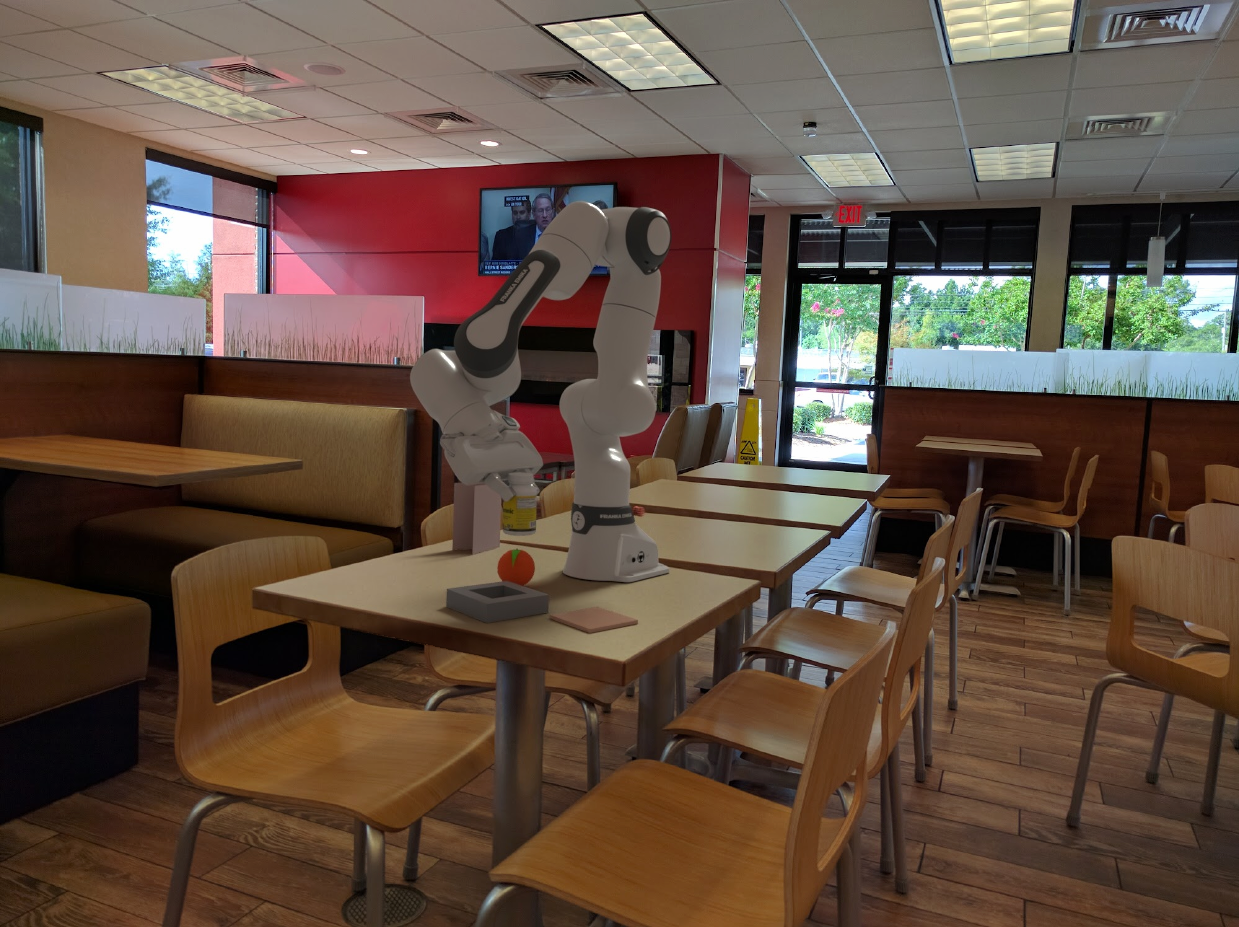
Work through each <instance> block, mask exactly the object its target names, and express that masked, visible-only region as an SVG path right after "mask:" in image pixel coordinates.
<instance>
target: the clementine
mask: <svg viewBox="0 0 1239 927" xmlns="http://www.w3.org/2000/svg"><path fill="white" fill-rule="evenodd" d="M496 568H497V574H498V577H499V579H500V581H501V582H502V581H509V582H512V583H515V584H518V585H521V586H525V585H527V584H528V583H530V581H531V580H532V579H533V577H534V575H535V571H536V564H535V561H534V559H533V557H532V555H531V554H529V552H527V551H526V550H523V549H518V548H516V549H509V550H508V551H506V552H505V553H503V554H502V555H501V556H500V558H499V560H498V562H497V567H496Z"/></svg>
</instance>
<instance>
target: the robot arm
mask: <svg viewBox="0 0 1239 927" xmlns="http://www.w3.org/2000/svg"><path fill="white" fill-rule="evenodd" d="M671 244H672V230H671V225H670V223H669V221H668V218H667V217H666V215H665V214H664V213H663V212H662V211H660V210H658V209H655V208H650V207H647V206H641V207H631V206H630V207H629V206H615V207H612V208H603V209H600V208H599V207H598V206H597V205H595V204H593V203H591V202H588V201H585V200H577V201H572V202H570V203H569V204H567V205H566V206H565V207H564V208H562V209H561V211H560V212H558V214H557V215H556V216H555V217H554V218H553V219H552V220H551V221H550V223H549V224H548V225H547V226H546V227H545V229H544V230H543V232H542V233H541V234H540V236H539V238H538V239H537V241H536V242H535V243H534V245H533V247H532V249H531V250H530V251H529V253H528V254H527V255H526V256H525V257H524V258H523V259H522V260H521V262H520V263H519V264H518V265H517V266H516V267H515V268H514V270H513V271H512V272H511V273H510V275H509V276H508V278H507V279H506V280H505V281H504V283H503V284H502V285H501V286H500V288H499V289H498V290H497V291H496V293H495V294H494V296H493V297H492V298H491V299H490V300H489V301H488V302H487V304H486V305H484V306H483V307H481V308H479V310H478V311H476V312H475V313H473V314H472V315H470V316H469V317H467V318H466V319H464V320H463V322H462V323H461V324H460V325H459V326H458V328H457V329H456V331H455V335H454V338H453V346H454V347H453V349H454V350H445V349H444V350H443V349H439V348H432V349H430V350H427V351H425V352H424V353H423V354H422V355H421V356H420V357H419V358H418V359H416V361H415V362H414V364H413V366H412V368H411V371H410V374H409V375H410V376H409V380H410V385H411V388H412V391H413V392H414V394H415V396H416V397H417V399H418V400H419V402H420V404H421V405H422V406H423V408H424V409H425V411H426V412H427V413H428V415H429V417H431V418H432V419H433V420H435V421H436V422H437V423H438V425H439V427H440V430H441V432H442V435H441V437H440V441H439V444H440V447H441V448H442V449H443V453H444V457H445V459H446V461H447V463H448V465H449V466H450V469H451V470H452V472H453V473H454V475H455V476H456V477H457V480H459V482H460V483H464V484H465V485H474V484H481V483H486V484H487V486H488V487H489V488H490V489H492V490H493V491H495V492H496V493H498V494H499V495H500V496H501V500H502V501H503V500H504V501H505V502H506V501H511V500H513V498H515V497H516V492H515V491H514V489H513V488H512V487H511V486H509V485H507V484H506V483H505V482H504V481H508V474H509V473H514V472H523V473H531V474H533V481H532V482H533V483H531V486H532V487H534V488H535V489H536V491H537V495H538V494H539V493H540V491H541V490H540V488H539V487H538V485H537V484H536V482H535V477H534V476H535V475H536V474H537V473H538V472H539V470H541V469H542V468H543V466H544V462H543V458H542V456H541V454H540V453H539V451H538V450H537V448H536V446H534V444H533V443H532V441H531V440H530V439H529V438H528V436H526V434H524V433H523V432H522V431H520V430H519V429H521V426H520V423H519V422H518V421H517V420H516V419H515V418H513V417H511V416H507V415H505V414H502V413H500V412H498V411H496V410H495V409H492V408H491V406H494V405H496V404H499V403H500V402H502V401H505V400H507V399H508V398H510V397H511V396H513V395H514V394H515V392H517V390H518V389H519V388H520V385H521V382H522V369H521V362H520V360H521V359H520V357H519V350H518V344H519V336H520V331H521V328H522V326H523V324H524V323H525V321H526V320H527V318H528V317H529V315H530V314H531V313H532V311H533V310H534V309H535V308H536V307H537V305H538V303H539V302H540V300H541V299H542V298H546V299H548V300H551V301H552V300H553V301H563V300H568V299H570V298H571V297H573V296H574V295H575V294H576V293H577V292H578V291H580V289H581V288H582V286H583V285H584V283H585V282H586V280H587V279H588V278H589V276H590V274H591V272H592V271H593V269H594V267H596V266H598V267H599V266H600V267H609V274H610V275H609V276H610V277H609V278H610V279H609V282H608V286H607V288H606V290H605V293H604V296H603V300H602V304H601V308H600V312H599V316H598V320H597V325H596V329H595V331H594V332H595V333H594V337H593V343H592V344H593V348H594V350H595V352H596V354H597V361H598V366H597V367H598V371H597V378H585V379H582V380H578V381H576V382H574V383H572V384H570V385H568V386H567V387H566V388H565V389H564V391H563V392H562V394H561V396H560V399H559V412H560V415H561V418H562V419H563V421H564V422H565V423H566V425H567V428H568V433H569V438H570V442H571V446H572V454H573V460H574V491H573V495H574V496H573V502H572V503H571V511H570V521H571V535H570V540H569V546H568V552H567V557H566V560H565V564H564V566H563V569H562V573H563V574H564V575H566V576H569V577H572V578H577V579H580V580H581V579H583V580H589V581H590V580H591V581H604V582H605V581H607V582H608V581H609V582H611V581H612V582H621V583H622V582H623V583H632V582H636V581H641V580H645V579H648V578H653V577H657V576H661V575H665V574H669V573H670V567H668V565H665V564H663V563H660V562H659V549H658V546H657V545H658V544H657V543H656V540H655V539H653V538H652V537H651V536H649V535H648V534H647V533H646V532H645V531H644V530H643V529H642V528H641V527H640V526H639V525H638V524H636V519H635V517H636V516H637V517H639V518H642V517H643V516H644V515H645V513H646V509H645V508H644V507H643V506H636V505H635V506H634V507H632V506H631V504H630V493H631V492H630V491H631V473H632V472H631V465H630V463H629V461H628V459H627V457H626V455H625V453H624V451H623V448H622V444H621V439H620V437H629V436H634V435H636V434H640V433H643V432H645V431H646V430H647V429H648V428H649V427H650V426H651V424H652V423H653V422H654V419H655V415H656V411H657V409H656V408H657V406H656V405H657V404H656V401H655V397H654V394H653V393H652V392H651V390H650V387H649V382H648V380H649V379H648V355H649V350H650V345H651V341H652V337H653V332H654V328H655V324H656V319H657V314H658V310H659V304H660V299H661V298H660V296H661V286H662V284H661V283H662V275H661V271H660V268H661V267H662V265H663V263H664V262H665V259H666V257H667V255H668V253H669V250H670V248H671ZM508 486H509V487H508Z"/></svg>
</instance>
